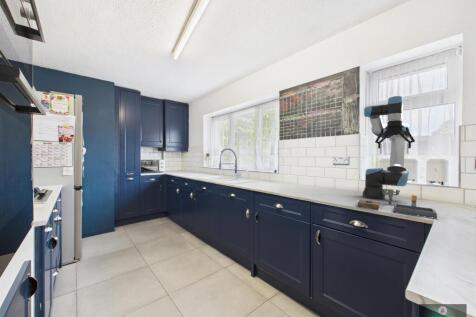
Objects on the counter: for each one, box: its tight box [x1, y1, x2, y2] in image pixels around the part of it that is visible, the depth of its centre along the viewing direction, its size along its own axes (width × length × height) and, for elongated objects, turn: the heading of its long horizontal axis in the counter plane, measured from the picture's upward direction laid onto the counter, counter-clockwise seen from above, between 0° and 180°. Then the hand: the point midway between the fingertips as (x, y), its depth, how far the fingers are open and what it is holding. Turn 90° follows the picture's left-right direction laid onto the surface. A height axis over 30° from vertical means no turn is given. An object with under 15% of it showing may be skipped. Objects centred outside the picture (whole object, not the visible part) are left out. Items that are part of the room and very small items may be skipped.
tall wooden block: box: [410, 193, 418, 210], centre depth 116 cm, size 5×2×10 cm, turn 142°
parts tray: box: [393, 203, 438, 219], centre depth 116 cm, size 11×18×3 cm, turn 52°
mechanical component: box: [382, 188, 401, 205], centre depth 138 cm, size 3×10×10 cm, turn 78°
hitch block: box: [357, 198, 380, 211], centre depth 130 cm, size 11×11×3 cm
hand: (393, 153), depth 130 cm, fingers open, 13 cm apart
